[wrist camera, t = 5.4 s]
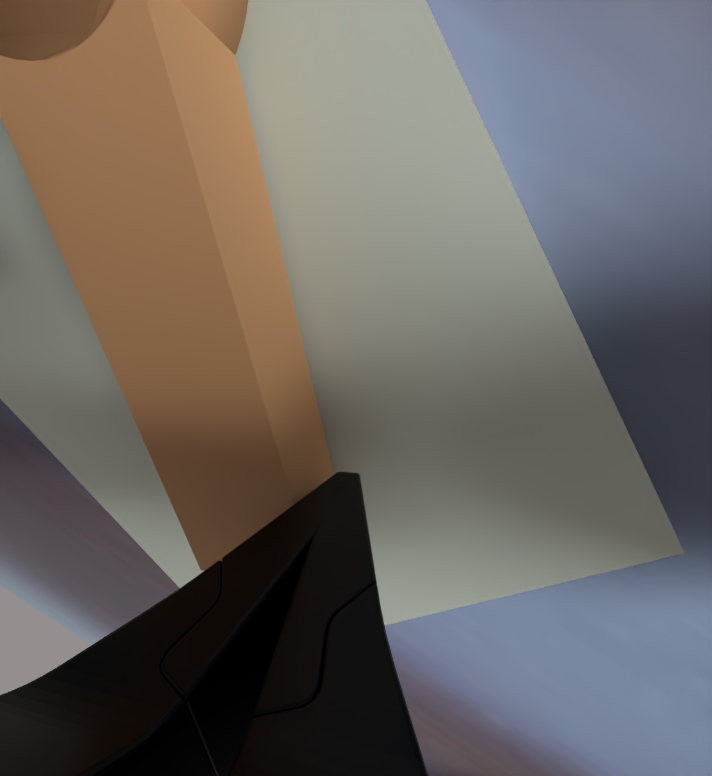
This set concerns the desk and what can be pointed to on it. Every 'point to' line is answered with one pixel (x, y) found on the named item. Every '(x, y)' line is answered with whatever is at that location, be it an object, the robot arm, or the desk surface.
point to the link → (170, 245)
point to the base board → (373, 328)
